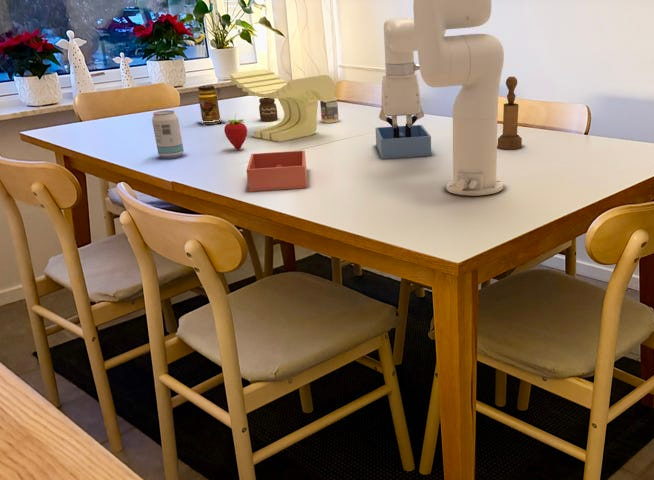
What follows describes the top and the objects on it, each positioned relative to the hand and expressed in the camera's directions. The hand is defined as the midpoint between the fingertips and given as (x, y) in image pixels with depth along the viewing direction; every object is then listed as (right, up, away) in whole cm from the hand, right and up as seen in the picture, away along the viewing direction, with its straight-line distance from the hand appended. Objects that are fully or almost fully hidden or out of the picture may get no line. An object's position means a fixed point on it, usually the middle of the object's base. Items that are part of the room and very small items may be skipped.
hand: (402, 141), depth 201 cm
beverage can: (-65, -3, +6) cm, 65 cm away
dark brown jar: (-46, +23, +53) cm, 73 cm away
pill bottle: (-24, +20, +45) cm, 55 cm away
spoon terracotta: (-30, -16, -24) cm, 41 cm away
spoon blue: (0, 0, 0) cm, 1 cm away
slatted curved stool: (-36, +10, +28) cm, 46 cm away
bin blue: (0, -2, +1) cm, 2 cm away
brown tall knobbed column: (+29, -2, 0) cm, 29 cm away
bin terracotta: (-30, -16, -23) cm, 41 cm away
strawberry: (-47, +1, +11) cm, 48 cm away
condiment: (-65, +22, +52) cm, 86 cm away
